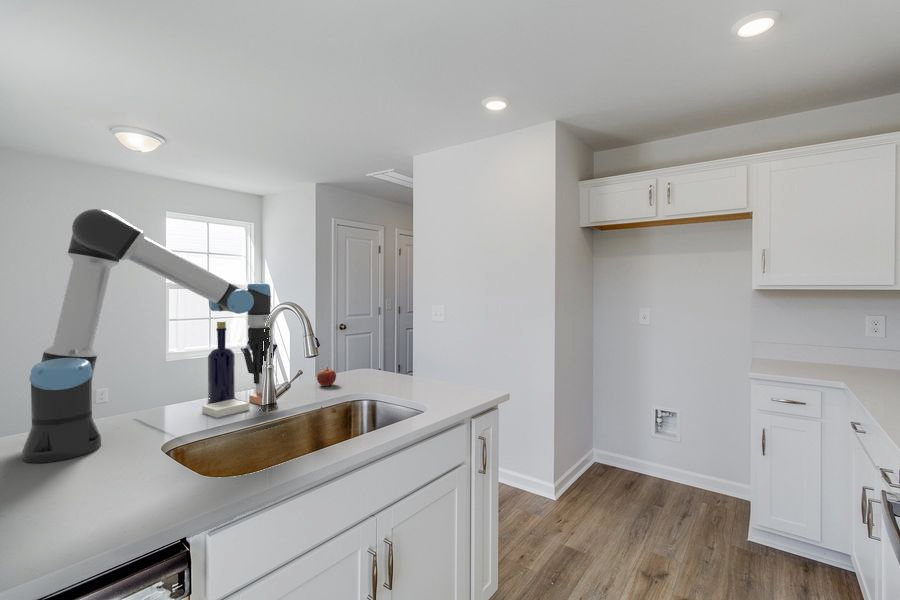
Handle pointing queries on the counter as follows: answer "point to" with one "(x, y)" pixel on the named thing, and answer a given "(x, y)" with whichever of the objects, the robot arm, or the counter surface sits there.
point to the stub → (256, 398)
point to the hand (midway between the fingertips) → (259, 392)
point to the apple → (326, 377)
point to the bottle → (221, 369)
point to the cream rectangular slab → (225, 407)
